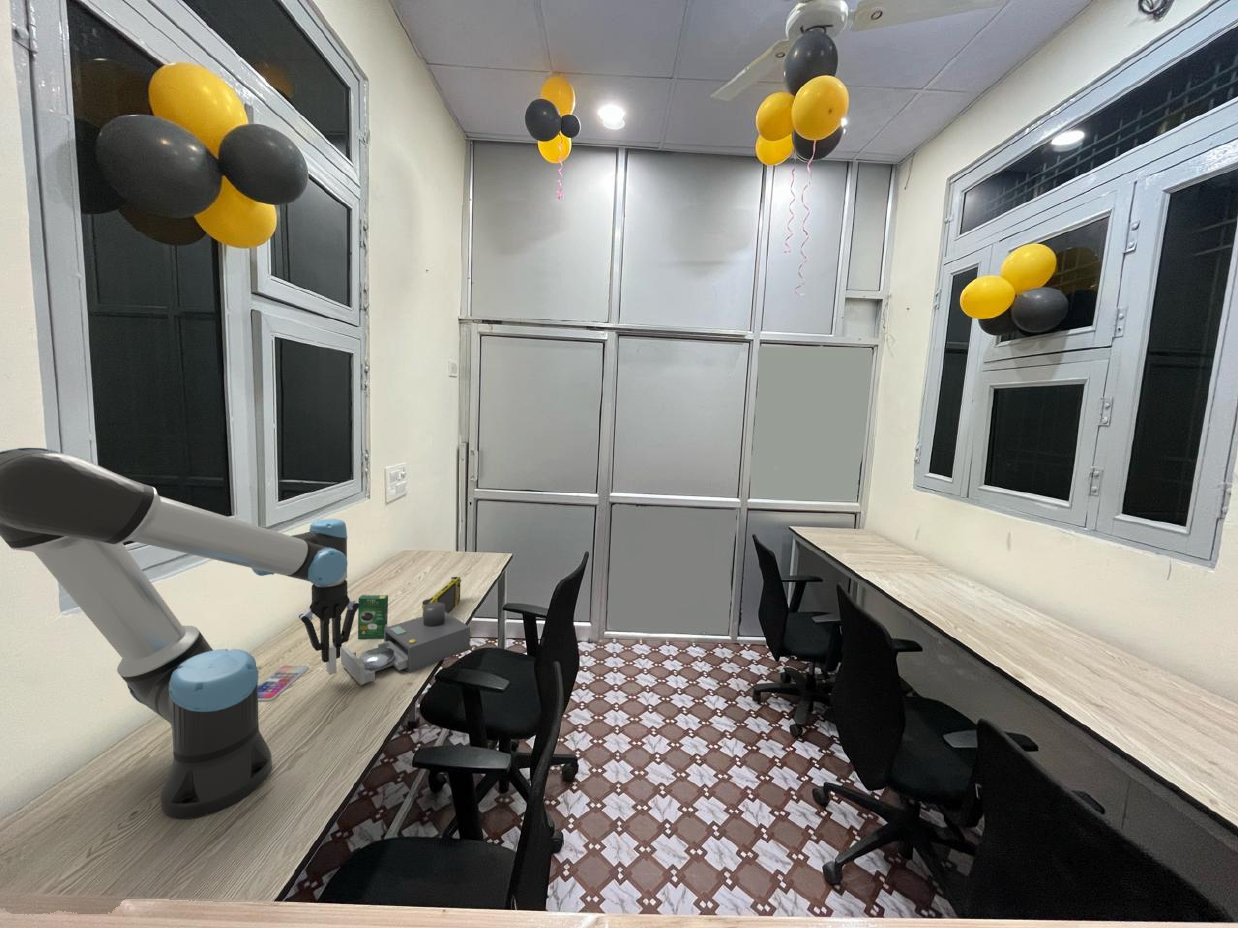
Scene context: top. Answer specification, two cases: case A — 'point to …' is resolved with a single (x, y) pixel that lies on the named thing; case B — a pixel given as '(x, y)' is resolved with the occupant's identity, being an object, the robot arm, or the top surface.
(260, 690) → the smartphone
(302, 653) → the top surface
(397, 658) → the sliding drawer insert
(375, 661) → the disc
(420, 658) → the player
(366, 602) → the coffee box
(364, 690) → the top surface
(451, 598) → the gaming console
